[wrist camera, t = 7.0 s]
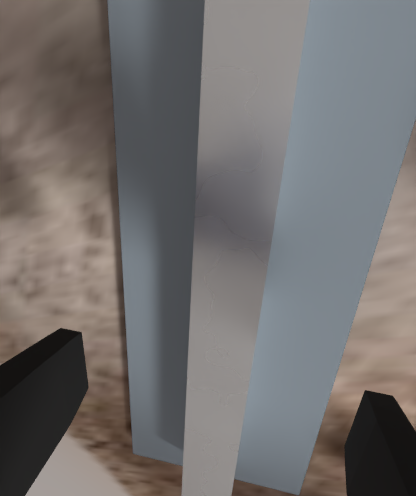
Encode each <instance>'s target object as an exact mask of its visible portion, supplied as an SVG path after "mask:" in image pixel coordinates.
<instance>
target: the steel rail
mask: <svg viewBox="0 0 416 496" xmlns="http://www.w3.org/2000/svg"><path fill="white" fill-rule="evenodd" d="M309 4H310V0H205V8H204V29H203V50H202V71H201V93H200V114H199V135H198V156H197V178H196V199H195V220H194V241H193V262H192V284H191V305H190V326H189V347H188V369H187V390H186V411H185V432H184V453H183V475H182V496H231V495H232V489H233V483H234V476H235V470H236V464H237V457H238V451H239V445H240V438H241V432H242V426H243V420H244V413H245V407H246V401H247V394H248V388H249V382H250V375H251V369H252V363H253V357H254V350H255V344H256V338H257V331H258V325H259V319H260V312H261V306H262V300H263V294H264V287H265V281H266V275H267V268H268V262H269V256H270V249H271V243H272V237H273V231H274V224H275V218H276V212H277V205H278V199H279V193H280V186H281V180H282V174H283V168H284V161H285V155H286V149H287V142H288V136H289V130H290V123H291V117H292V111H293V105H294V98H295V92H296V86H297V79H298V73H299V67H300V60H301V54H302V48H303V42H304V35H305V29H306V23H307V16H308V10H309Z"/></svg>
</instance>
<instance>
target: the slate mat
mask: <svg viewBox="0 0 416 496" xmlns="http://www.w3.org/2000/svg"><path fill="white" fill-rule="evenodd" d="M204 8H205V0H108V18H109V36H110V54H111V72H112V89H113V107H114V125H115V143H116V161H117V178H118V196H119V214H120V232H121V250H122V267H123V285H124V303H125V321H126V339H127V356H128V374H129V392H130V410H131V428H132V445H133V454H136V455H140V456H144V457H148V458H152V459H156V460H160V461H164V462H168V463H172V464H176V465H180V466H183V453H184V432H185V411H186V390H187V369H188V347H189V326H190V305H191V284H192V262H193V241H194V220H195V199H196V178H197V156H198V135H199V114H200V93H201V71H202V50H203V29H204ZM415 119H416V0H310V4H309V10H308V16H307V23H306V29H305V35H304V42H303V48H302V54H301V60H300V67H299V73H298V79H297V86H296V92H295V98H294V105H293V111H292V117H291V123H290V130H289V136H288V142H287V149H286V155H285V161H284V168H283V174H282V180H281V186H280V193H279V199H278V205H277V212H276V218H275V224H274V231H273V237H272V243H271V249H270V256H269V262H268V268H267V275H266V281H265V287H264V294H263V300H262V306H261V312H260V319H259V325H258V331H257V338H256V344H255V350H254V357H253V363H252V369H251V375H250V382H249V388H248V394H247V401H246V407H245V413H244V420H243V426H242V432H241V438H240V445H239V451H238V457H237V464H236V470H235V476H234V479H236V480H240V481H244V482H248V483H252V484H256V485H260V486H264V487H268V488H272V489H276V490H280V491H284V492H288V493H292V494H295V495H299V494H300V491H301V487H302V484H303V481H304V478H305V474H306V471H307V468H308V465H309V462H310V458H311V455H312V452H313V449H314V445H315V442H316V439H317V436H318V433H319V429H320V426H321V423H322V420H323V416H324V413H325V410H326V407H327V403H328V400H329V397H330V394H331V391H332V387H333V384H334V381H335V378H336V374H337V371H338V368H339V365H340V362H341V358H342V355H343V352H344V349H345V345H346V342H347V339H348V336H349V332H350V329H351V326H352V323H353V320H354V316H355V313H356V310H357V307H358V303H359V300H360V297H361V294H362V290H363V287H364V284H365V281H366V278H367V274H368V271H369V268H370V265H371V261H372V258H373V255H374V252H375V249H376V245H377V242H378V239H379V236H380V232H381V229H382V226H383V223H384V219H385V216H386V213H387V210H388V207H389V203H390V200H391V197H392V194H393V190H394V187H395V184H396V181H397V177H398V174H399V171H400V168H401V165H402V161H403V158H404V155H405V152H406V148H407V145H408V142H409V139H410V136H411V132H412V129H413V126H414V123H415Z"/></svg>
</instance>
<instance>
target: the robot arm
mask: <svg viewBox="0 0 416 496" xmlns="http://www.w3.org/2000/svg"><path fill="white" fill-rule="evenodd" d="M87 390H88V379H87V372H86V364H85V356H84V348H83V340H82V332H77V331H72V330H67V329H63V328H60V329H58V330H57V331H55V332H53V333H52V334H50V335H48V336H47V337H45V338H44V339H42V340H40V341H39V342H37V343H36V344H34V345H32V346H31V347H29V348H28V349H26V350H24V351H23V352H21V353H20V354H18V355H16V356H15V357H13V358H12V359H10V360H8V361H7V362H5V363H4V364H2V365H0V496H25V495H26V493H27V492H28V490H29V488H30V487H31V485H32V484H33V482H34V481H35V479H36V478H37V476H38V475H39V473H40V471H41V470H42V468H43V467H44V465H45V464H46V462H47V461H48V459H49V457H50V456H51V454H52V453H53V451H54V449H55V448H56V446H57V445H58V443H59V442H60V440H61V439H62V437H63V436H64V434H65V432H66V431H67V429H68V427H69V426H70V424H71V422H72V420H73V418H74V416H75V414H76V412H77V410H78V408H79V406H80V404H81V402H82V400H83V398H84V396H85V394H86V392H87ZM345 471H346V489H347V496H416V431H415V430H414V428H413V426H412V425H411V423H410V422H409V420H408V419H407V417H406V415H405V414H404V412H403V411H402V409H401V407H400V406H399V404H398V403H397V401H396V400H395V398H394V397H393V396H391V395H386V394H381V393H376V392H371V391H366V390H365V392H364V394H363V397H362V400H361V403H360V405H359V408H358V411H357V414H356V416H355V419H354V422H353V424H352V427H351V430H350V433H349V435H348V438H347V441H346V443H345Z"/></svg>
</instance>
